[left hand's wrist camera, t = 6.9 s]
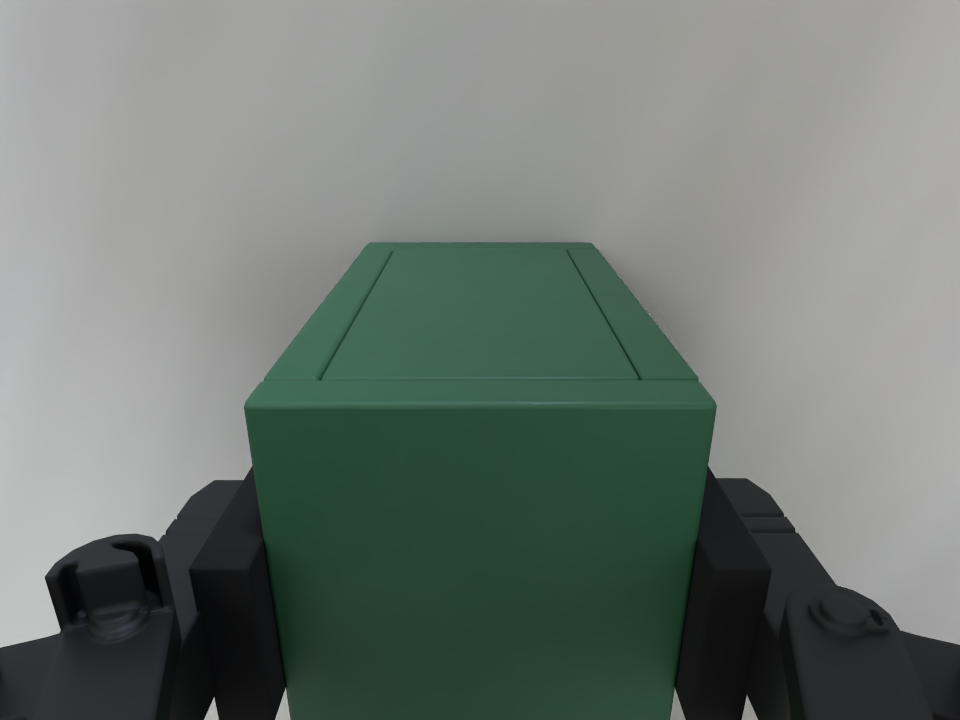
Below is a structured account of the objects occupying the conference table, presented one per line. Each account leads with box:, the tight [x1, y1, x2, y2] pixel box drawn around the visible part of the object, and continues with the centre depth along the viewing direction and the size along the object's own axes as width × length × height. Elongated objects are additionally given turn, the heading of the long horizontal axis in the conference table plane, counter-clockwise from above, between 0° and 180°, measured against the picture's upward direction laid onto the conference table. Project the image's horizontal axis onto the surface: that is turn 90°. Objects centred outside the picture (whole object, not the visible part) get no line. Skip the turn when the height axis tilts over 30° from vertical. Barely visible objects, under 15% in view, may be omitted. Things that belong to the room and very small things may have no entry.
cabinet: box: [244, 243, 717, 720], centre depth 16 cm, size 19×6×10 cm, turn 0°
